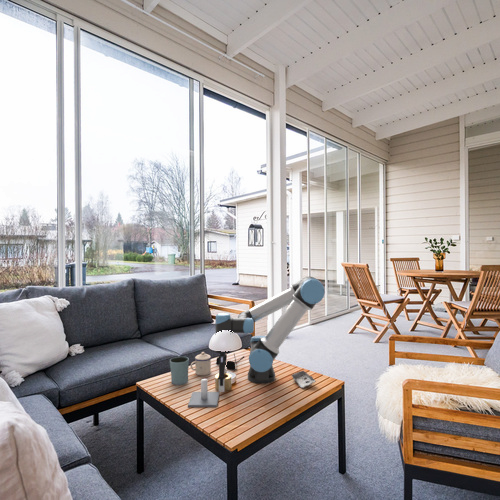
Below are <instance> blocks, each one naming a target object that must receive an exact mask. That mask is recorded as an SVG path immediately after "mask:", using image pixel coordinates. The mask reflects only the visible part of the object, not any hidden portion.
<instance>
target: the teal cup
mask: <svg viewBox="0 0 500 500" xmlns="http://www.w3.org/2000/svg"><path fill="white" fill-rule="evenodd" d="M189 365H190V359H189V357H188V356H183V355H182V356H174V357H172V358H170V359H169V366H170V378H171V384H172V385H174V386H175V385H176V386H181V385H185V384H187V383H188V381H189Z"/></svg>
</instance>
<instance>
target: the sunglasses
mask: <svg viewBox="0 0 500 500" xmlns="http://www.w3.org/2000/svg"><path fill="white" fill-rule="evenodd" d="M235 354H236V353H233V356H234V361H232V360H226V362H227V368H226V370H230V371H237V370H238V369H237V367H238V363H239V362H241V361H242V360H243V359H245V356H242V357H240V359H239V360H237V358H236V355H235ZM215 364H216V365H217V366H219V356H218V357H216V361H215Z"/></svg>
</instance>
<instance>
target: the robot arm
mask: <svg viewBox="0 0 500 500" xmlns="http://www.w3.org/2000/svg"><path fill="white" fill-rule="evenodd" d="M325 293H326V292H325V287H324V284H323V283H322V282H321V281H320V280H319V279H317V278H315V277H313V276H305V277H303V278H301V279H299V280H298V281H296V282H294V283H293V284H291V285H290V287H289V288H288V289H286V290H284V291H282V292H280V293H278V294H276V295H274V296H272V297H270V298H269V299H266V300H265V301H262V302H261V303H259V304H257V305H255V306H253V307H252V308H249V309H248V310H246V311H242V312H240V313H239V314H238V316H237V317H232V316H231V314H230V313H227V312H219V313H218V314H216V316H215V323H214V324H215V330H214V331H215V333H214V334H216V333H217V332H219V331H221V332H222V330H228V331H229V330H231V331H230V332H232V331H233V332H234V333H233V332H232V333H231V334H246V335H248V334H253V333H254V331H255V329H254V328H255V323H256V322H259V321H260V320H262V319H264V318H266V317H268V316H270V315H272V314H274V313H275V312H278V311H279V310H281V309H283V308H286V309H284V311H283V313H282V314H281V315H280V316H279V318H278V320H277V321H276V322H275V323H274V324H273V326H272V328H270V330H269V331H268V333H267V334H266V335H254V336H251V337H250V351H249V355H248V363H249V365H250V367H249V369H248V372H247V380H248V381H249V382H250V383H253V384H257V385H258V384H261V385H265V384H271V383H273V382H275V380H276V373H275V370H274V365H273V363H274V360H275V359H276V357H278V355H279V354H280V349H279V348H280V347H281V346H282V345H283V343H284V341H286V339H287V337H289V335H290V334H291V333H292V332H293V330H294V328H295V327H296V326H297V325H298V323H299V322H300V320H302V318H303V317H304V315H305V314H306V313H307V311H310V310H313V309H314V307H315V306H316V305H317V304H318V303H320V302H321V301H322V300H323V298H324V297H325ZM215 353H217V354H218V357H219V365H218V374H219V377H217V379H219V391H218V392H219V393H224V392H225V391H224V380H225V378H224V373H227V368H226V369H225V365H226V362H227V357H228V355H227V354H229V353H231V350H230V351H228V352H226V351H225V352H221V351H215ZM226 367H227V365H226Z"/></svg>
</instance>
